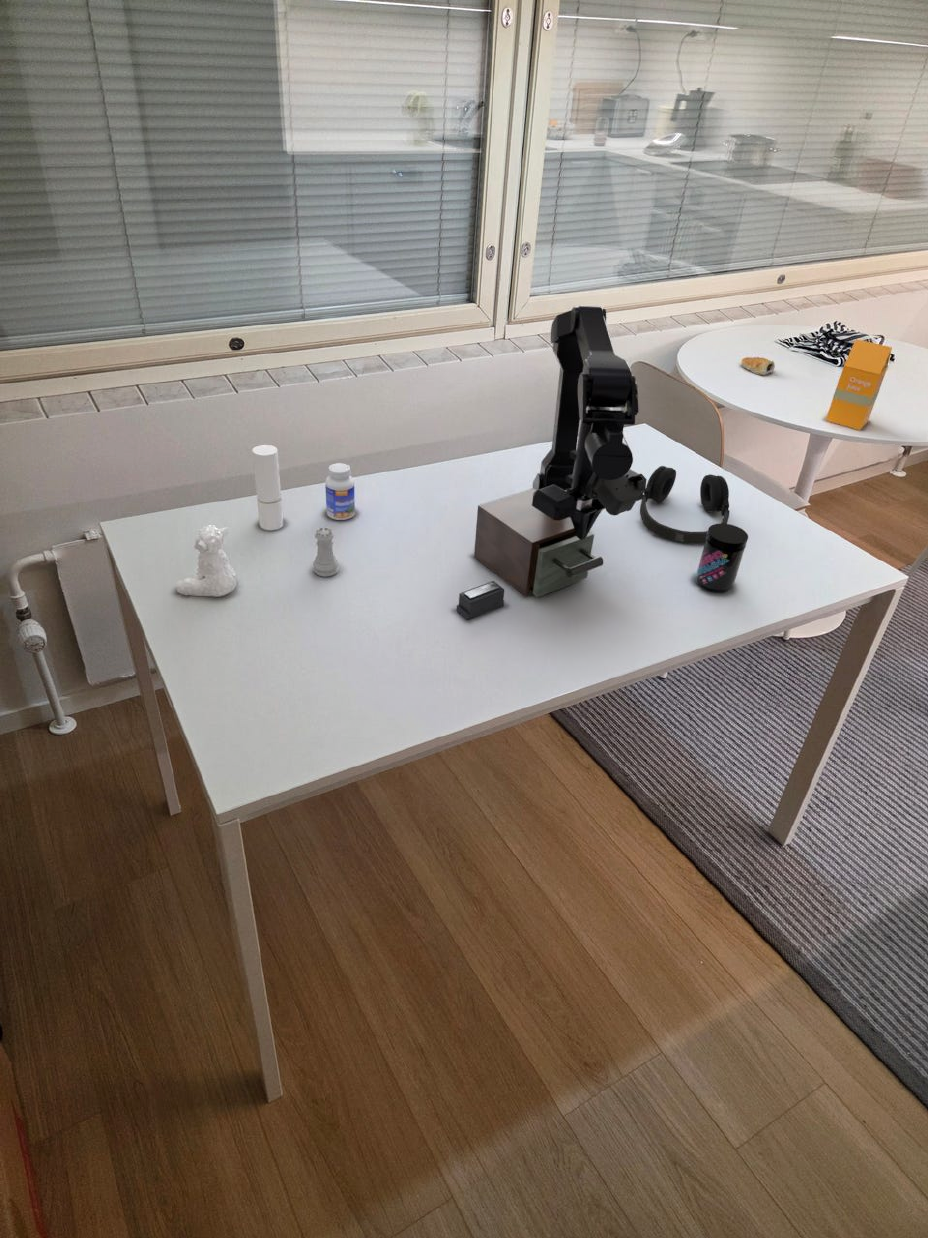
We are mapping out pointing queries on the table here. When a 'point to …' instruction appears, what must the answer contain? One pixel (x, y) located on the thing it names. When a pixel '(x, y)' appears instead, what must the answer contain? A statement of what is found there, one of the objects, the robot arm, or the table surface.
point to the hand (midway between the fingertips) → (581, 538)
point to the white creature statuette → (210, 566)
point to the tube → (268, 487)
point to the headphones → (711, 498)
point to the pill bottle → (340, 492)
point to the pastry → (758, 365)
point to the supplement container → (721, 557)
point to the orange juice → (859, 384)
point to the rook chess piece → (325, 554)
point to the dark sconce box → (480, 600)
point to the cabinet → (514, 537)
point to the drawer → (562, 562)
